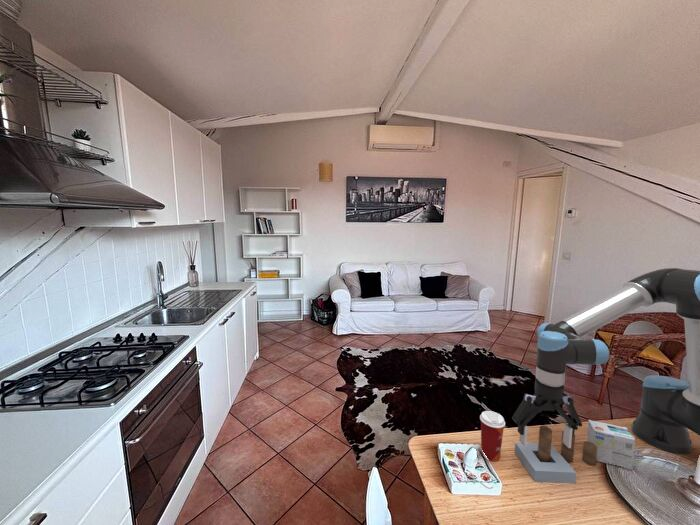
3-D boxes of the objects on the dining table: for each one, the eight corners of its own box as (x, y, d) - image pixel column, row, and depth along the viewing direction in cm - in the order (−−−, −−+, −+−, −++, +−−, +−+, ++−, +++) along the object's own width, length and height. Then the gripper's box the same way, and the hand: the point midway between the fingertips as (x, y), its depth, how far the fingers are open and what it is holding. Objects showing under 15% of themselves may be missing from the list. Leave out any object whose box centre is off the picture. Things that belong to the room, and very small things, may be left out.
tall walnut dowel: (545, 462, 96) (548, 425, 95) (551, 471, 92) (554, 433, 91) (534, 462, 96) (537, 425, 95) (540, 470, 93) (543, 432, 91)
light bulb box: (624, 456, 99) (627, 426, 98) (633, 471, 93) (636, 439, 92) (585, 446, 103) (587, 418, 102) (591, 460, 97) (594, 430, 96)
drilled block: (550, 453, 100) (551, 444, 100) (575, 483, 88) (576, 472, 88) (514, 451, 101) (515, 442, 100) (534, 481, 89) (535, 470, 88)
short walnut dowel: (590, 458, 98) (592, 441, 97) (598, 466, 95) (600, 449, 94) (580, 457, 98) (581, 441, 98) (587, 465, 95) (589, 448, 94)
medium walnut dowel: (568, 454, 99) (570, 430, 98) (575, 462, 96) (577, 437, 95) (558, 454, 99) (560, 429, 99) (564, 462, 96) (566, 436, 95)
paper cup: (506, 465, 95) (508, 425, 93) (481, 462, 96) (483, 422, 95) (499, 448, 102) (501, 410, 101) (475, 445, 104) (477, 408, 102)
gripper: (582, 376, 94) (576, 437, 97) (503, 374, 96) (499, 434, 98) (600, 388, 87) (594, 454, 89) (514, 386, 88) (510, 451, 91)
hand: (544, 444), depth 94 cm, fingers open, 13 cm apart
